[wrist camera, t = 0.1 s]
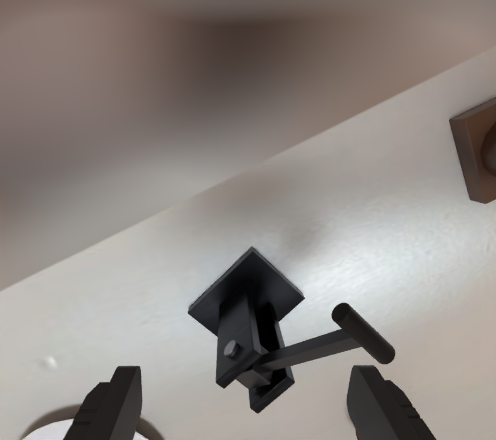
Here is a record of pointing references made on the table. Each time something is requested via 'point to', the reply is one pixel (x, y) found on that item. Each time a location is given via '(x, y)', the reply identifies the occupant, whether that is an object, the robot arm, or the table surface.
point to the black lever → (321, 347)
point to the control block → (477, 150)
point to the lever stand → (248, 322)
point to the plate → (60, 432)
